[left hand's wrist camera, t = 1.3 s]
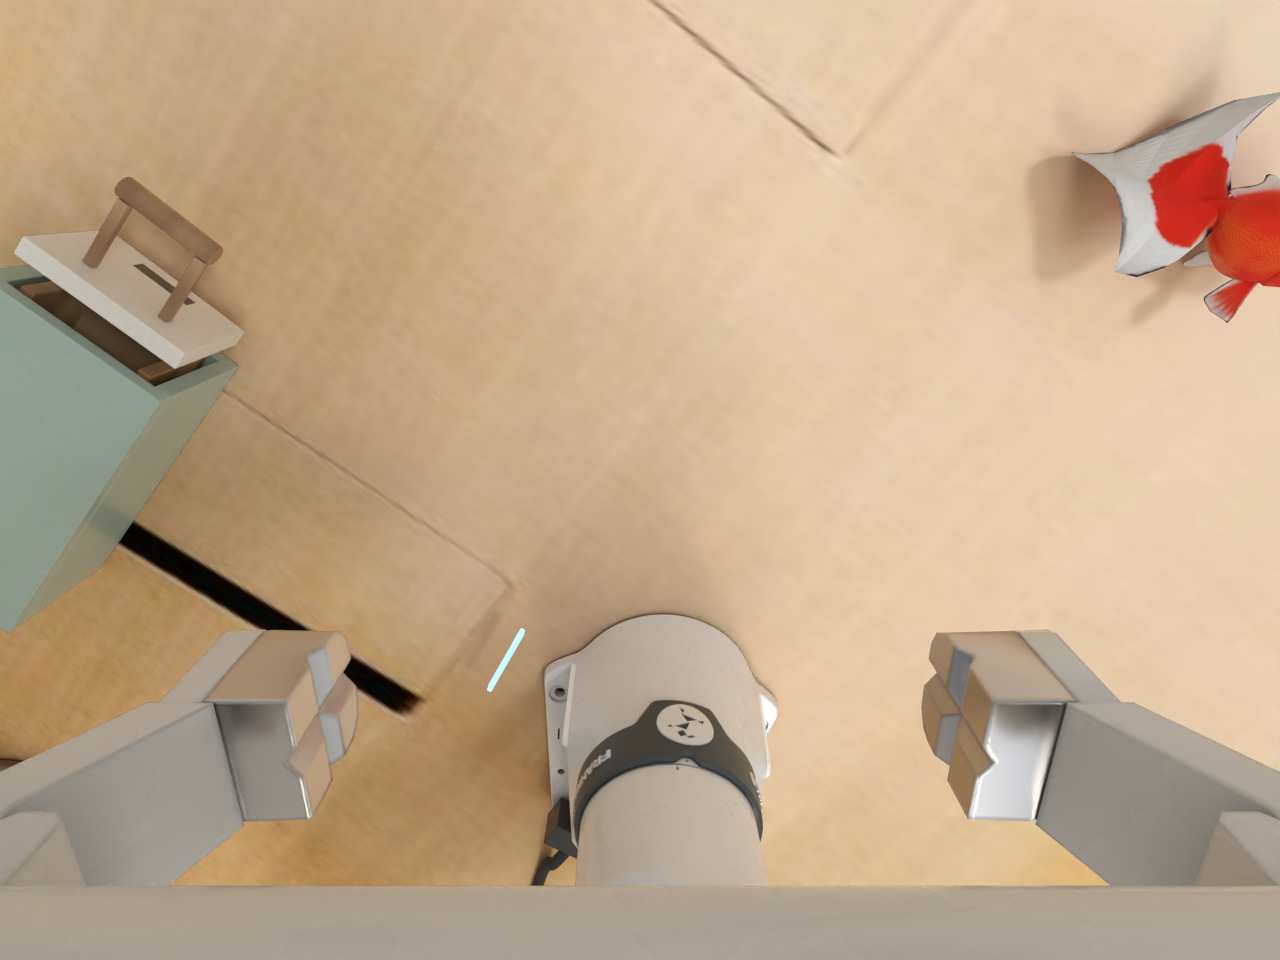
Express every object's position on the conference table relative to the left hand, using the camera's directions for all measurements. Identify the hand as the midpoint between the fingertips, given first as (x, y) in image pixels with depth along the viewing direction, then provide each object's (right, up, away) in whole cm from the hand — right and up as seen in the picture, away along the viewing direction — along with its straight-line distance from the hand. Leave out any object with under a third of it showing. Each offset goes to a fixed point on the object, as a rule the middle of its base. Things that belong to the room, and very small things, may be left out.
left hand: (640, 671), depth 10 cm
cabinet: (-38, +7, +41) cm, 56 cm away
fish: (+32, +19, +36) cm, 52 cm away
